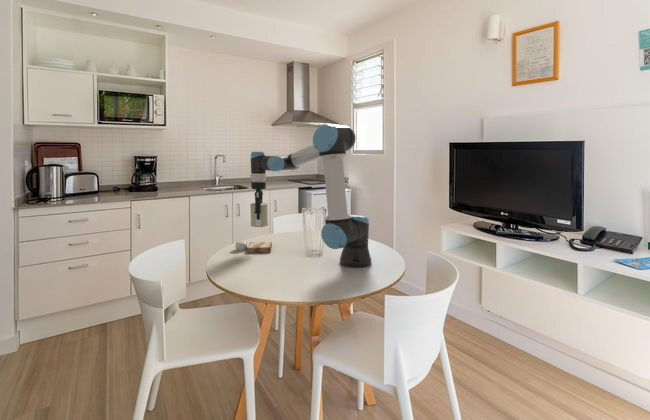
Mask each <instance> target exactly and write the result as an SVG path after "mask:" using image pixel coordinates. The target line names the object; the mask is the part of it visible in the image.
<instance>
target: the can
mask: <svg viewBox="0 0 650 420" xmlns="http://www.w3.org/2000/svg"><path fill="white" fill-rule="evenodd" d="M249 206H250V227H253V228H264V227H268V226H269V221H268V220H269V219H268V217H269V215H268V214H269V209H268V206H269V205H268V203H266V202H263V203H261V226H256V213H254V212H255V202H252V203H250V204H249Z"/></svg>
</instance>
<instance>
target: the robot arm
mask: <svg viewBox="0 0 650 420" xmlns="http://www.w3.org/2000/svg"><path fill="white" fill-rule="evenodd" d="M356 139H357V138H356V133H355V131H354V130H353V129H352V128H351V127H350V126H348V125H344V124H343V125H341V124H336V123H335V124H334V123H324V124H320V125H319V126H318V127H317V128H316V130H315V131H314V133H313V136H312V145H311V144H310V145H309V146H306V147H305V148H302V149H299V150H297V151H295V152H293V153H290V154H288V155H287V154H286V155H266V152H265V151H251V152H250V159H249V161H250V174H249V177H250V178H251V179H250V180H251V182H250V183H251V190H255V192H254V203H255V212H254V213H256V226H261V203H264V202H263V199H264V198H263V195H264V193H263V190H265V189H267V182H266V181H267V177H266V176H267V173H266V172H267V171H268V172H269V171H270V172H280V171H294V170H298V169H299V168H300V167H302V166H304V165H306V164H309V163H312V162H314V161H317V160H319V159H321V160H322V161H323V162H322V163H323V172H324V183H325V194H326V205H327V206H326V207H327V215H326V216H325V218H324V221H325V222H324V223H325V225H323V227H322V229H321V232H320V235H321V240H322V241H323V243H324V244H325V245H326V246H327V247H328V248H330V249H331V250H338V249H339V250H340V249H342V250H341V254H340V256H339V263H340V265H341V266H345V267H350V268H364V267H368V266H370V265H372V256H371V255H370V249H369V234H370V232H369V230H370V227H369V226H370V224H369V223H370V222H369V221H370V220H369V217H368V216H364V215H357V214H356V215H355V214H349V213H348V205H347V203H348V202H347V193H346V192H347V191H346V181H345V179H346V178H345V168H344V158H345V156H347V151H350V150H351V149H352V148H353V147H354V146H355V143H356Z"/></svg>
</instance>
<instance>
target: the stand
mask: <svg viewBox="0 0 650 420" xmlns="http://www.w3.org/2000/svg"><path fill="white" fill-rule="evenodd" d="M272 247H273V242H271V241H254V242H252V241H251V242H249V244H248V245H247V250H246V252H247V254H268V253H269V254H271V251H272Z"/></svg>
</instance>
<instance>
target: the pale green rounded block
mask: <svg viewBox="0 0 650 420" xmlns="http://www.w3.org/2000/svg"><path fill="white" fill-rule="evenodd" d="M247 248H248V242H247V241H245V240H244V241H243V240H242V241H241V240H240V241H237V242H235V251H237V252H247Z"/></svg>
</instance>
